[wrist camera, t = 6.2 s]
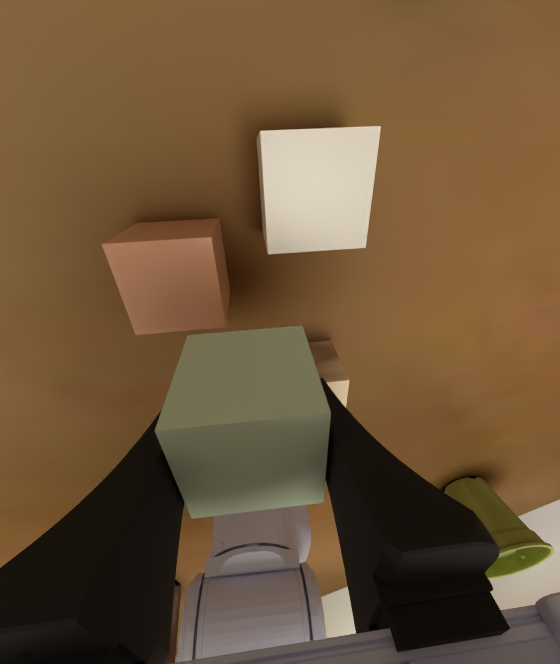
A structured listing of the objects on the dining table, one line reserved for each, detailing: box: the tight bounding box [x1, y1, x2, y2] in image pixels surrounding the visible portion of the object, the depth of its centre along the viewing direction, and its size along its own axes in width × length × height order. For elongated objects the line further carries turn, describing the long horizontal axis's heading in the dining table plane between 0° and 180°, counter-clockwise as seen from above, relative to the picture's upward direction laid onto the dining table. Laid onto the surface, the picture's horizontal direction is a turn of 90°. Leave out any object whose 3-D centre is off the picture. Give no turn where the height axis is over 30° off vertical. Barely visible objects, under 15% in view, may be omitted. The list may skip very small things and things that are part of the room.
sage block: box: [155, 326, 331, 519], centre depth 11 cm, size 5×5×5 cm
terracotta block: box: [102, 218, 230, 335], centre depth 16 cm, size 5×5×5 cm
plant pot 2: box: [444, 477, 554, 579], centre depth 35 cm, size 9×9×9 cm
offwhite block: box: [256, 126, 381, 254], centre depth 15 cm, size 5×5×5 cm
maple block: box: [308, 340, 349, 407], centre depth 22 cm, size 5×5×5 cm
